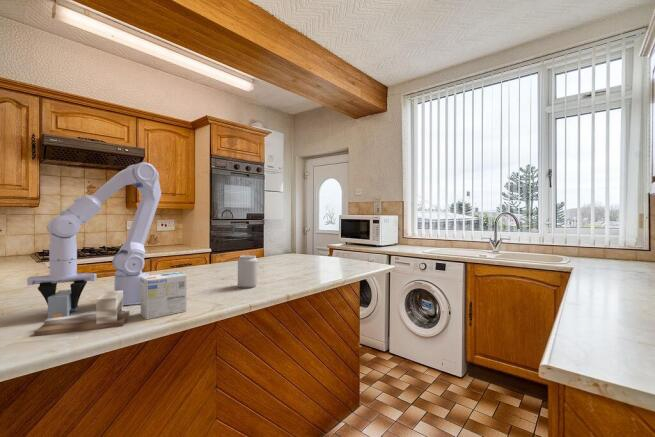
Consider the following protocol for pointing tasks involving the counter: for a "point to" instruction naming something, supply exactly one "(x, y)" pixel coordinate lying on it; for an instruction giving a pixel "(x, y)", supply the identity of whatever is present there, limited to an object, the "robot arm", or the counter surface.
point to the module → (60, 304)
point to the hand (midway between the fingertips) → (63, 308)
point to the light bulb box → (163, 294)
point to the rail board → (90, 317)
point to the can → (247, 271)
